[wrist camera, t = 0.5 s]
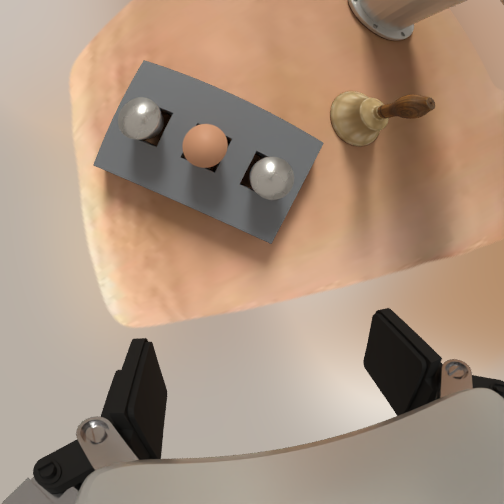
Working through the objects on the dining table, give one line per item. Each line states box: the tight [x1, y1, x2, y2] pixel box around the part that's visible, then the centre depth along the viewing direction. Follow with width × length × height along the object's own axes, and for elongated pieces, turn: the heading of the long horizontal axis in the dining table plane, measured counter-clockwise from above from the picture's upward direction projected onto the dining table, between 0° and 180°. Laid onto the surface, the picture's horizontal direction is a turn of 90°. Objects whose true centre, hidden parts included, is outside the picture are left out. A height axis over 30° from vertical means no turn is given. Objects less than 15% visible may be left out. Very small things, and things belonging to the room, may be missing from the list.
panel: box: [94, 60, 323, 244], centre depth 32 cm, size 14×24×4 cm, turn 63°
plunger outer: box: [118, 97, 164, 140], centre depth 26 cm, size 4×4×5 cm
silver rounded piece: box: [249, 157, 294, 200], centre depth 30 cm, size 4×4×5 cm
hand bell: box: [330, 91, 435, 146], centre depth 27 cm, size 8×8×16 cm
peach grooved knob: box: [182, 124, 228, 168], centre depth 28 cm, size 4×4×5 cm
